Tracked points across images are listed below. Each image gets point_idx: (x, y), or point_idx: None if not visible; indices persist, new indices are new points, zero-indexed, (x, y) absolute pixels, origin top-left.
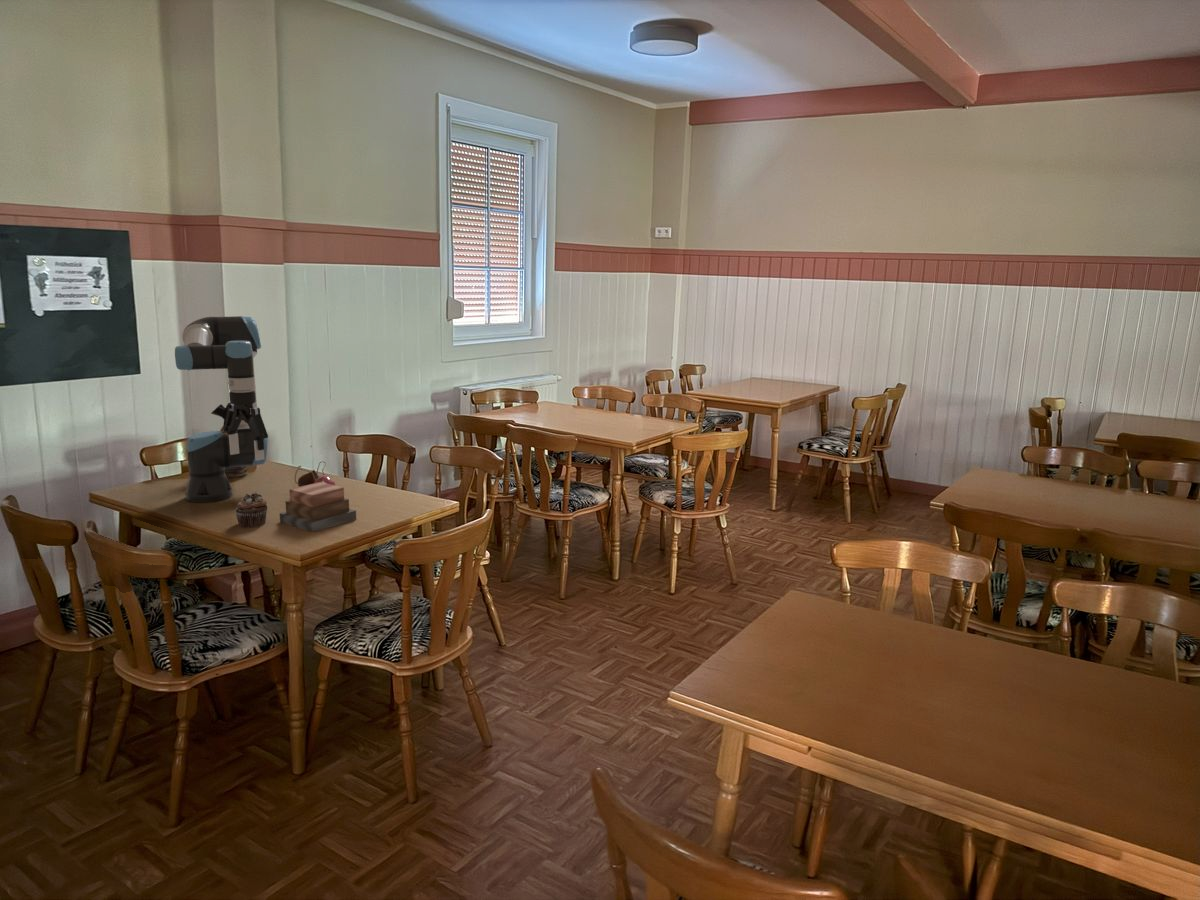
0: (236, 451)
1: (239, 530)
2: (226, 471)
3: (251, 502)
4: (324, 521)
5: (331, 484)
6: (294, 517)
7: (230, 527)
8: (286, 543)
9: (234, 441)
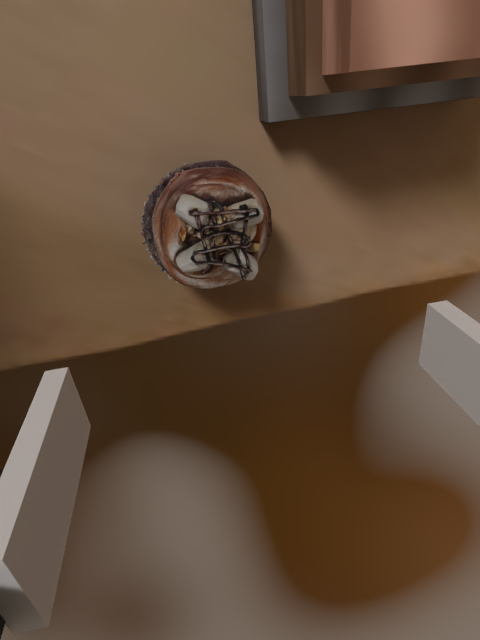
0: (72, 404)
1: None
2: None
3: (253, 256)
4: None
5: None
6: (371, 108)
7: None
8: (468, 228)
9: (54, 502)
